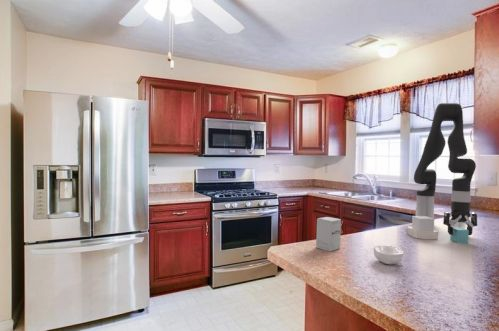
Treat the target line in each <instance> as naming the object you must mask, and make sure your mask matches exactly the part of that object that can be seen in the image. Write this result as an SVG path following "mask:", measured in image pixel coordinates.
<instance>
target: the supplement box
mask: <svg viewBox="0 0 499 331" xmlns="http://www.w3.org/2000/svg"><path fill="white" fill-rule="evenodd" d="M341 228H342V219H341V218H336V217H335V218H334V217H330V216H324V217H318V218H317V219H316V237H315V238H316V241H315V242H316V243H315V244H316V245H315V247H316V248H318V249H319V250H322V251H326V252H333V251H336V250H340V249H341V235H342V233H341V231H342V229H341Z"/></svg>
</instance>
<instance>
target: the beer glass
mask: <svg viewBox="0 0 499 331" xmlns="http://www.w3.org/2000/svg"><path fill="white" fill-rule="evenodd" d="M453 221H454V220H453ZM453 228H463V229H466V228H467V225H466V223H464V222H457V223H456V224H454V225H453Z"/></svg>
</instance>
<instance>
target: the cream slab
mask: <svg viewBox="0 0 499 331" xmlns="http://www.w3.org/2000/svg"><path fill="white" fill-rule="evenodd" d="M406 234H407V235H409V236H411V237H413V238H415V237H416V238H415V239H417V238H422V239H421V240H423V239H424V240H438V239H439V231H438V230H435V229H434V231H419V230H416V229H414V228H412V226H407V227H406Z"/></svg>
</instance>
